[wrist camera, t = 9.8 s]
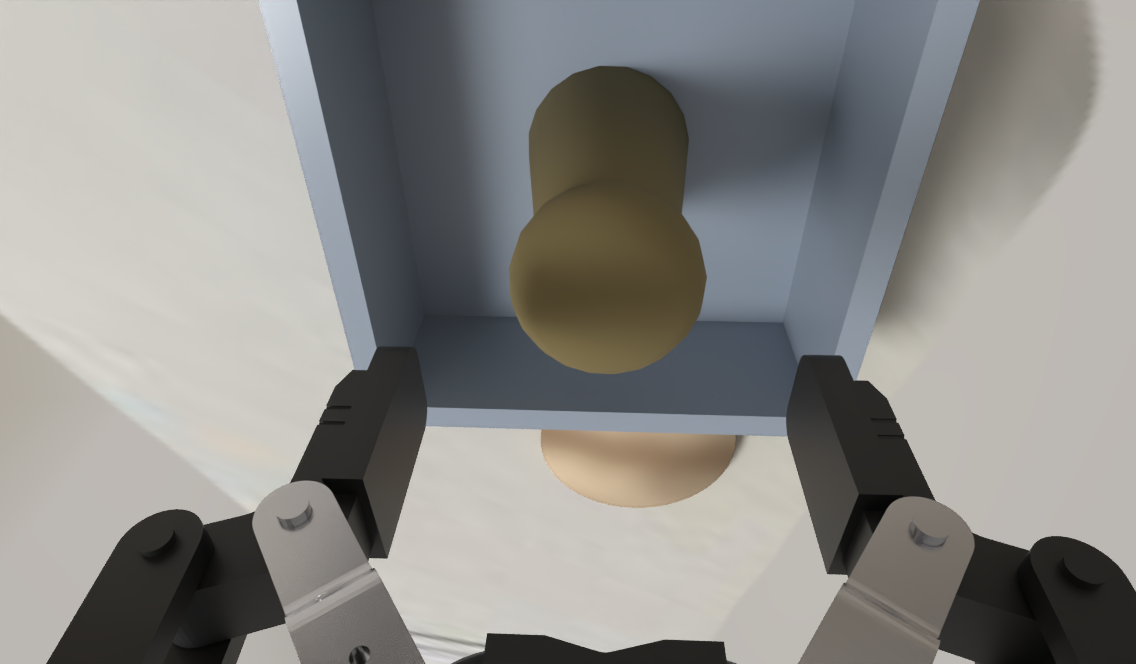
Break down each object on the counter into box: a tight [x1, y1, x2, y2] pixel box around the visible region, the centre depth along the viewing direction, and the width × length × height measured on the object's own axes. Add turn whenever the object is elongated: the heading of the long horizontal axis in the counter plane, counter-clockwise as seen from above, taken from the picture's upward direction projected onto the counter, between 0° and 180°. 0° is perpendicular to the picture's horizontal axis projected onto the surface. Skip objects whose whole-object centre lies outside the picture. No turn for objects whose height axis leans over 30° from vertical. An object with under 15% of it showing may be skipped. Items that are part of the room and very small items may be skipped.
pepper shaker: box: [509, 66, 707, 374], centre depth 21 cm, size 6×6×11 cm
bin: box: [258, 0, 980, 436], centre depth 23 cm, size 18×18×7 cm
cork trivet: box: [541, 429, 736, 508], centre depth 35 cm, size 10×10×1 cm
